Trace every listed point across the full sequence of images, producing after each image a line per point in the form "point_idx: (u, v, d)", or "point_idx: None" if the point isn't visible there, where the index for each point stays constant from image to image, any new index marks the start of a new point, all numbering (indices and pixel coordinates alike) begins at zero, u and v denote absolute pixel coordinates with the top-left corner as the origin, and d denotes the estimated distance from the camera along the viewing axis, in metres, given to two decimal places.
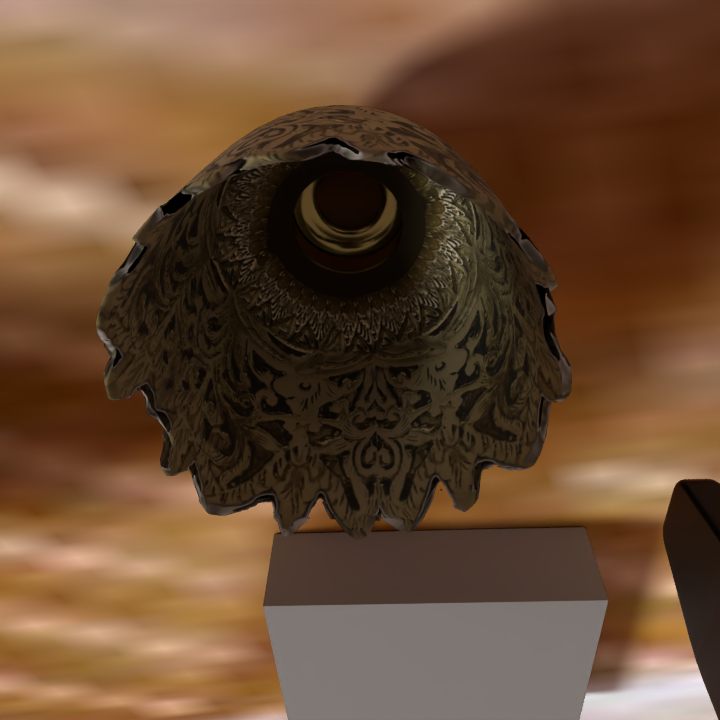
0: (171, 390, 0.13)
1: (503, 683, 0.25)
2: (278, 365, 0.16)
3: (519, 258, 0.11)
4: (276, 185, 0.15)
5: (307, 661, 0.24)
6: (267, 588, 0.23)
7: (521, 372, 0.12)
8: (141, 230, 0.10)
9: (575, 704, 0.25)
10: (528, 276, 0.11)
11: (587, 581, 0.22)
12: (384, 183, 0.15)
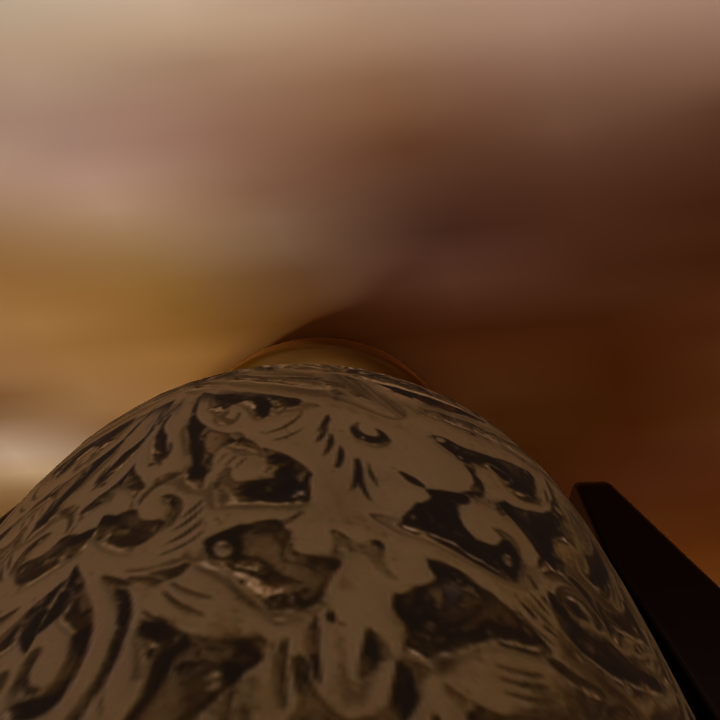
0: None
1: None
2: None
3: None
4: None
5: None
6: None
7: None
8: None
9: None
10: None
11: None
12: None
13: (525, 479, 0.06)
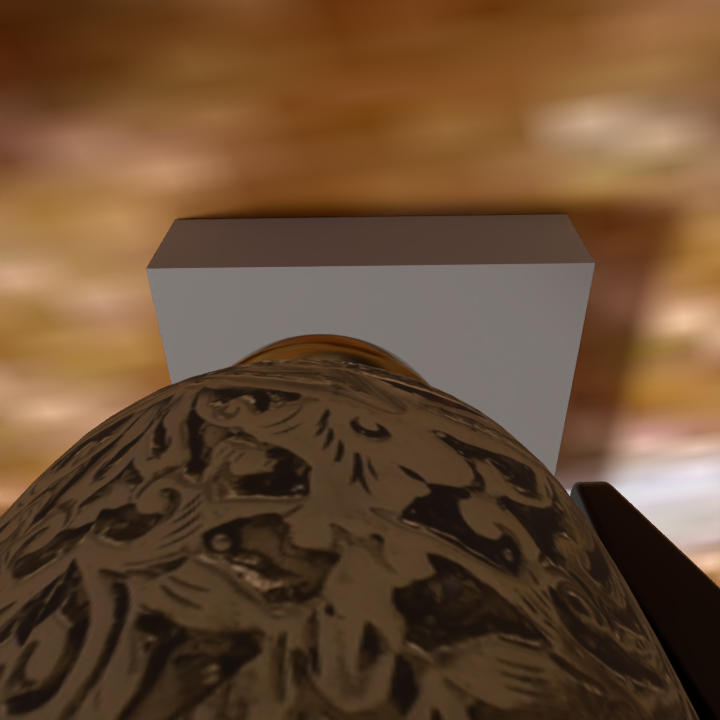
0: None
1: None
2: None
3: None
4: None
5: None
6: (155, 256, 0.18)
7: None
8: None
9: (549, 451, 0.20)
10: None
11: (568, 250, 0.17)
12: None
13: (526, 475, 0.06)
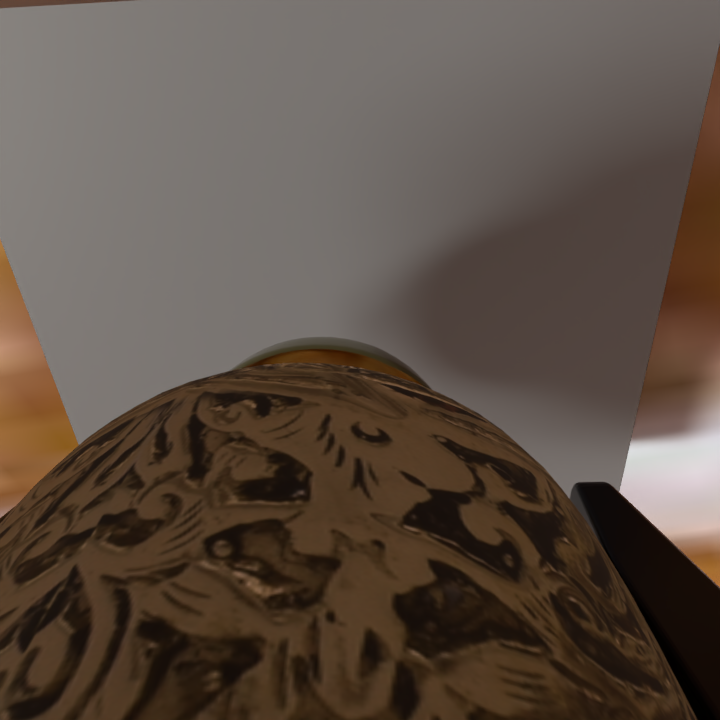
0: None
1: (485, 293, 0.12)
2: None
3: None
4: None
5: (63, 226, 0.11)
6: None
7: None
8: None
9: (633, 357, 0.12)
10: None
11: None
12: None
13: (526, 479, 0.06)
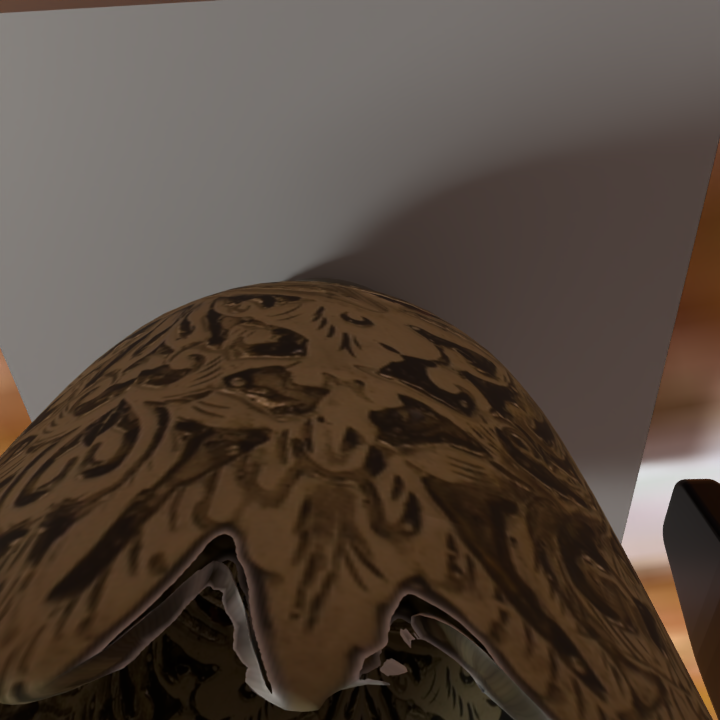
0: None
1: (485, 318, 0.11)
2: (206, 653, 0.10)
3: None
4: None
5: (32, 249, 0.10)
6: None
7: None
8: None
9: (643, 385, 0.12)
10: None
11: None
12: None
13: (487, 364, 0.07)
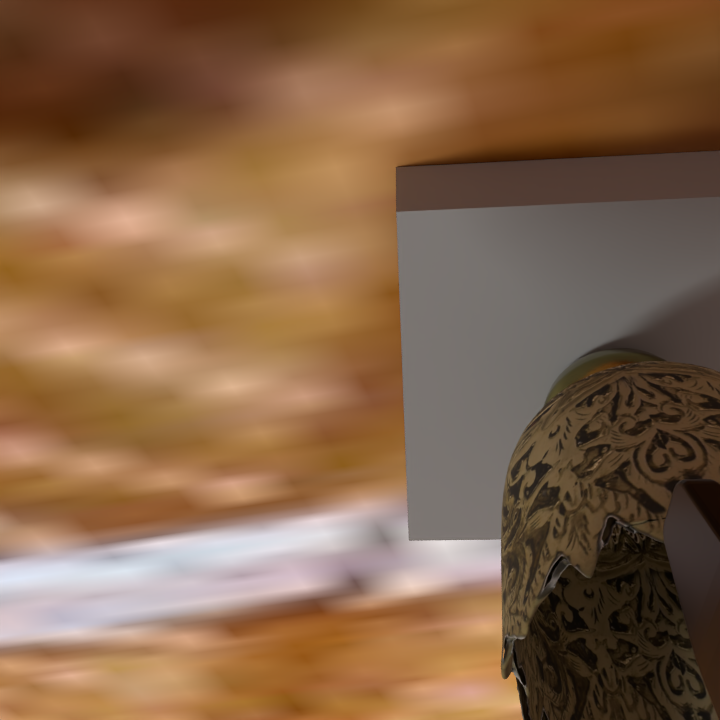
0: (518, 639, 0.14)
1: None
2: (562, 572, 0.17)
3: None
4: None
5: (445, 329, 0.17)
6: (398, 200, 0.16)
7: None
8: (593, 568, 0.10)
9: None
10: None
11: None
12: None
13: None
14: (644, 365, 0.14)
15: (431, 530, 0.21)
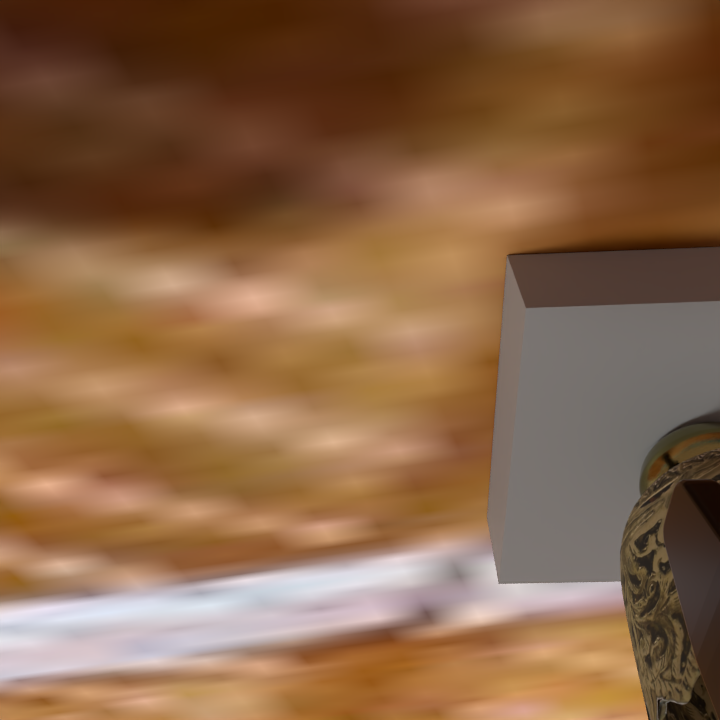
0: None
1: None
2: None
3: None
4: None
5: (556, 405, 0.19)
6: (523, 294, 0.18)
7: None
8: None
9: None
10: None
11: None
12: None
13: None
14: None
15: (520, 574, 0.23)
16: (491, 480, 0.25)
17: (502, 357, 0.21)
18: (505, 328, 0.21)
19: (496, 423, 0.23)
